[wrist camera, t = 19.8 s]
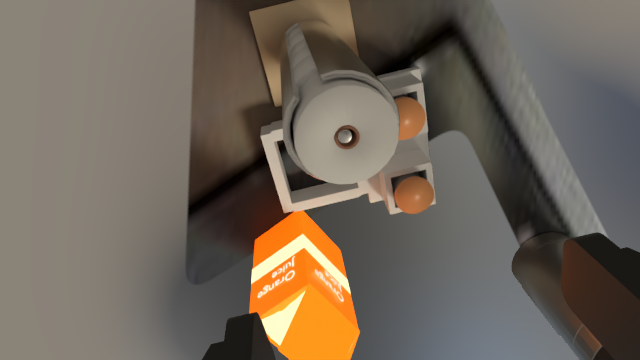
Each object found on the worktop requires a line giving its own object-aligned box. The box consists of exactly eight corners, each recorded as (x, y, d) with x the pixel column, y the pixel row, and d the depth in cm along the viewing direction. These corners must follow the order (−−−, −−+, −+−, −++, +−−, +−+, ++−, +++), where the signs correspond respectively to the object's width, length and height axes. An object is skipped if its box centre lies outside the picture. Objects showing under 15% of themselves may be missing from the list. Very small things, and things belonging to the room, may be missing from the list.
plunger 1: (413, 118, 47) (427, 134, 43) (376, 127, 47) (387, 144, 43) (408, 82, 45) (423, 94, 41) (370, 91, 45) (380, 104, 41)
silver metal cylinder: (337, 14, 43) (403, 65, 21) (344, 78, 46) (408, 181, 24) (274, 23, 43) (272, 85, 21) (284, 86, 46) (293, 200, 24)
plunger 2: (421, 187, 51) (435, 208, 47) (388, 195, 51) (398, 217, 47) (418, 156, 49) (432, 175, 45) (383, 165, 50) (393, 184, 45)
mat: (362, 84, 47) (363, 85, 47) (275, 105, 47) (275, 106, 47) (345, -13, 43) (346, -13, 42) (249, 11, 43) (248, 12, 42)
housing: (430, 183, 54) (444, 203, 49) (288, 217, 54) (289, 240, 49) (416, 66, 47) (432, 76, 42) (254, 105, 47) (252, 120, 42)
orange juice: (296, 280, 59) (305, 417, 41) (253, 240, 55) (242, 370, 37) (342, 249, 57) (371, 378, 39) (300, 206, 53) (313, 325, 36)
